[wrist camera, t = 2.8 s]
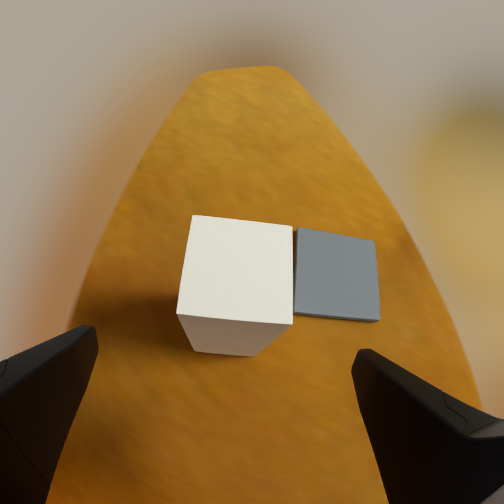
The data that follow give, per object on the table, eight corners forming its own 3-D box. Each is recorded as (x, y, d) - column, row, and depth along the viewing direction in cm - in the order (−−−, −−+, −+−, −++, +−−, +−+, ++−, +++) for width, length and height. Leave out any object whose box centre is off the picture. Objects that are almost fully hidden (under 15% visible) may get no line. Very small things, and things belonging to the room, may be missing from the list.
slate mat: (376, 321, 21) (380, 319, 20) (292, 313, 20) (294, 311, 20) (371, 244, 24) (374, 241, 23) (296, 230, 24) (298, 227, 23)
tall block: (253, 356, 19) (292, 324, 10) (194, 351, 18) (176, 313, 9) (257, 301, 20) (292, 226, 12) (200, 295, 20) (192, 214, 11)
